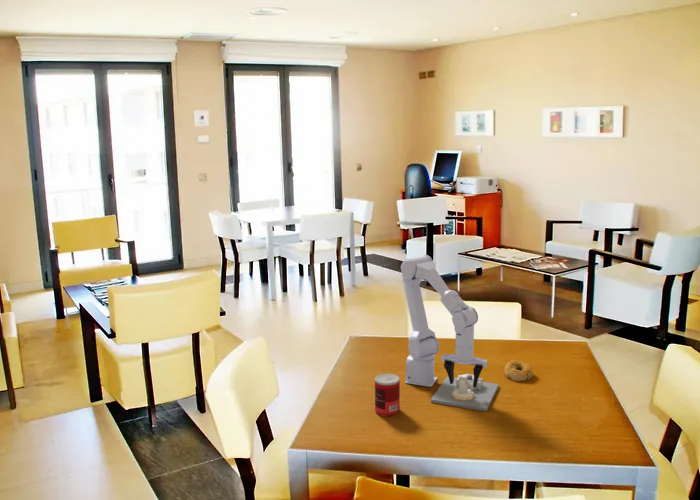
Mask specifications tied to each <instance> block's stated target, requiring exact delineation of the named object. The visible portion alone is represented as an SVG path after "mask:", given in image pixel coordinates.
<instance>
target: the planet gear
mask: <svg viewBox="0 0 700 500" xmlns="http://www.w3.org/2000/svg"><path fill="white" fill-rule="evenodd" d="M452 395H453V396H455V398H456V399H458V398H459V399H463V400H465V399H472V396H473V395H474V393H473V392H471V390H470V389H468V377H466V376H460V377H459V389H454V391H453V394H452Z"/></svg>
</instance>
